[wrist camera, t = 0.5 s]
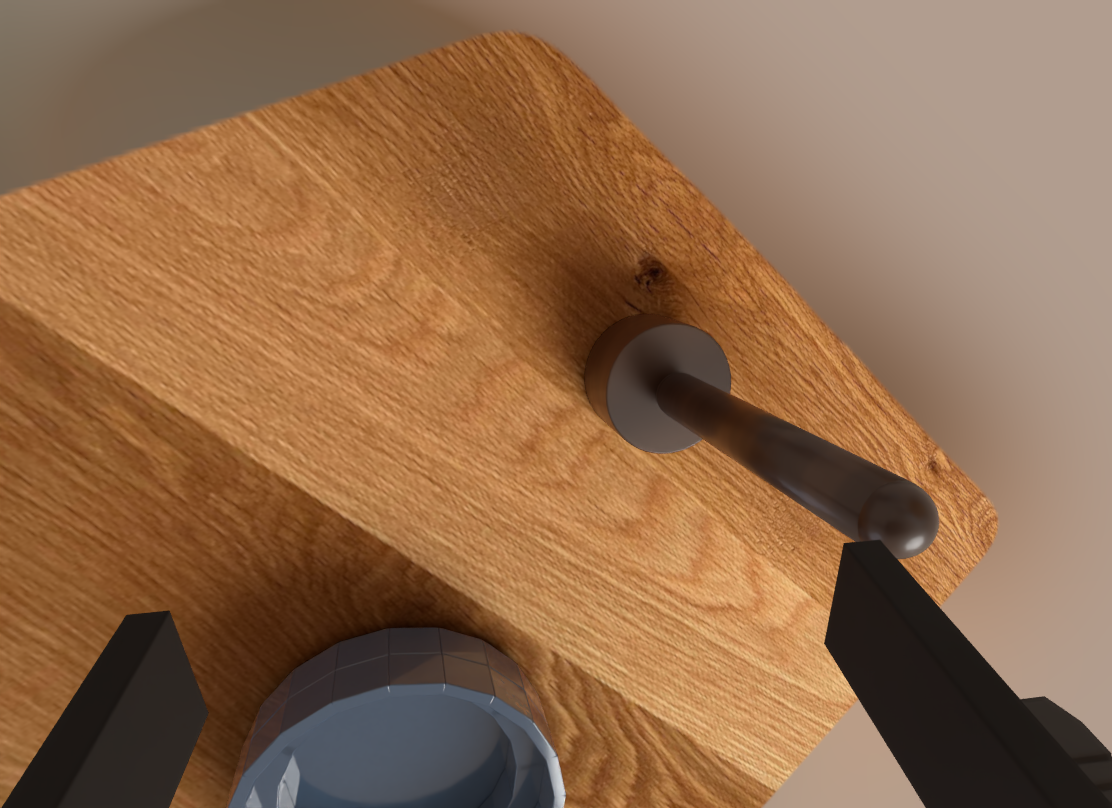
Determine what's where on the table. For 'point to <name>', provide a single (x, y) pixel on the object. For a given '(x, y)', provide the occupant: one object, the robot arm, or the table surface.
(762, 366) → the table surface
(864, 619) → the robot arm
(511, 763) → the bowl
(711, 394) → the joystick lever
